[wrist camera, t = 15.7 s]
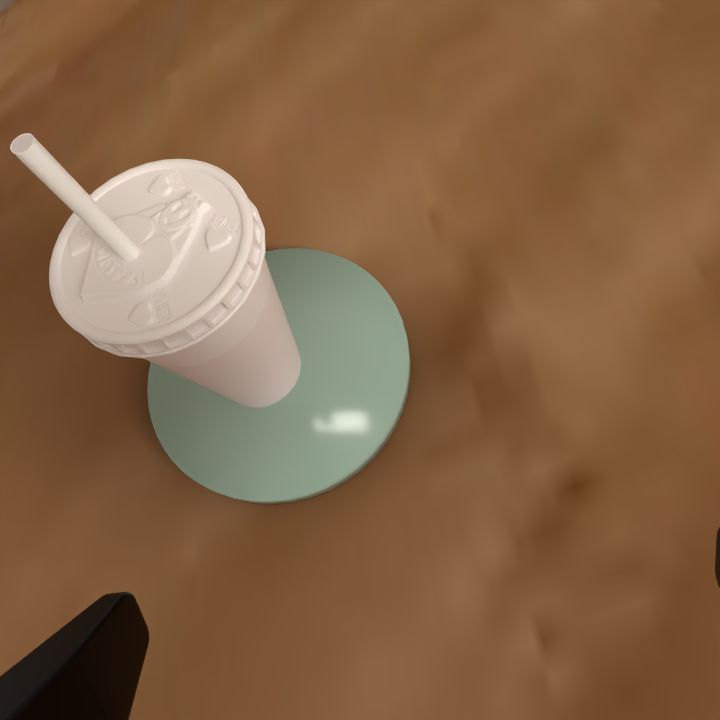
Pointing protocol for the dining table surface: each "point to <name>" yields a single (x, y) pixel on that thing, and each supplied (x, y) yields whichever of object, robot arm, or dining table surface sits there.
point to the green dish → (298, 392)
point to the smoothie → (171, 274)
